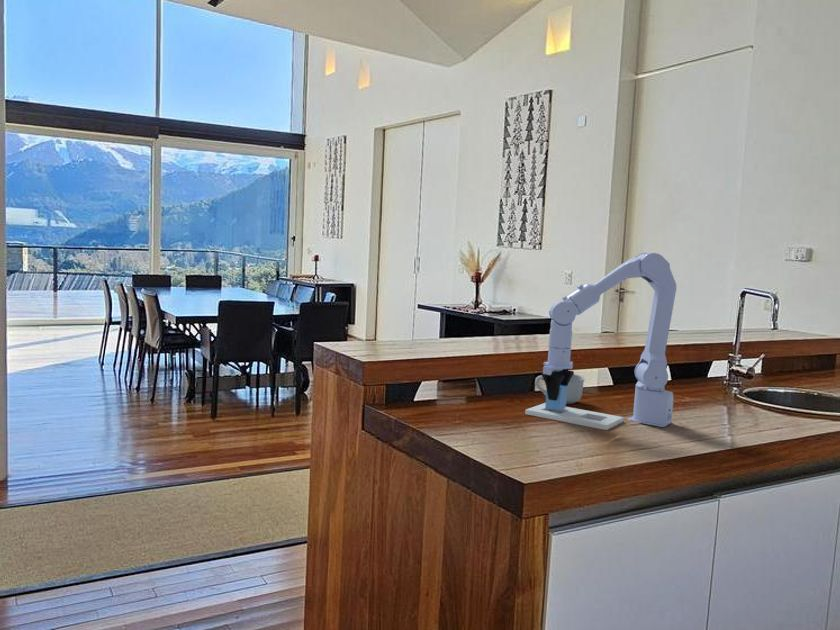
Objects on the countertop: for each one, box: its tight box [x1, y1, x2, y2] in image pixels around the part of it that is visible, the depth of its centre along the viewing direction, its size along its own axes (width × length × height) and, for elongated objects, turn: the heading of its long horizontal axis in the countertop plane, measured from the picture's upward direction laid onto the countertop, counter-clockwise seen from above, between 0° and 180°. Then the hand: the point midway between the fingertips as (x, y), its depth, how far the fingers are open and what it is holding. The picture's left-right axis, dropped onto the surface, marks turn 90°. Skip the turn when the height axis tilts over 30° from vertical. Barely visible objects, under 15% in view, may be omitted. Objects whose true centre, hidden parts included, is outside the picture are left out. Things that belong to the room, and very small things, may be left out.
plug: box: [545, 385, 567, 411], centre depth 187 cm, size 4×4×6 cm
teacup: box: [534, 373, 585, 405], centre depth 205 cm, size 14×11×8 cm
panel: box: [524, 402, 625, 431], centre depth 185 cm, size 22×12×2 cm, turn 55°
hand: (556, 398), depth 187 cm, fingers closed on plug, 4 cm apart
